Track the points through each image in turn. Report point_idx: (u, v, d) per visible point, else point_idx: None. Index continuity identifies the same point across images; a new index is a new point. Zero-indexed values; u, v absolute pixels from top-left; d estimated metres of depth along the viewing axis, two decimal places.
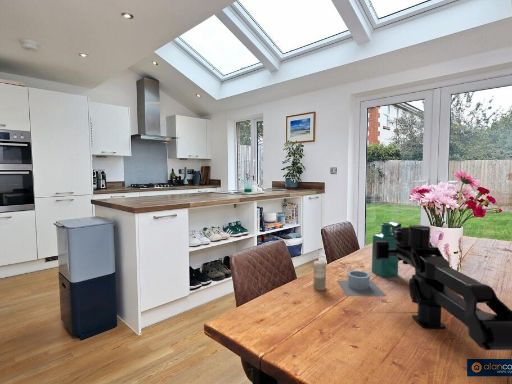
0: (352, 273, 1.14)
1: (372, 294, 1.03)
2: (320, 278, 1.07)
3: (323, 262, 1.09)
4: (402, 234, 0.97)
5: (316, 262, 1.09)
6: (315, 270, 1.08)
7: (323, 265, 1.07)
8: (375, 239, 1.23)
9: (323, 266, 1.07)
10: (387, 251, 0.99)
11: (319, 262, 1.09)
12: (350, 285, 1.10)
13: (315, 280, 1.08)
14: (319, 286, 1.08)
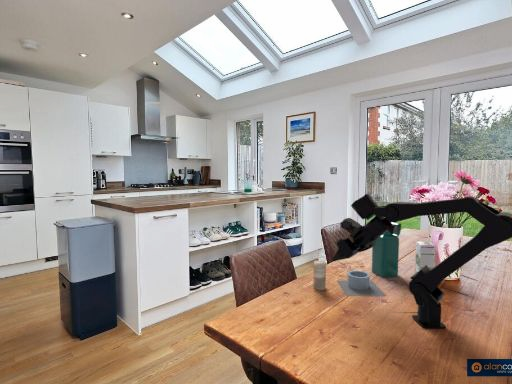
0: (352, 273, 1.14)
1: (372, 294, 1.03)
2: (320, 278, 1.07)
3: (323, 262, 1.09)
4: None
5: (316, 262, 1.09)
6: (315, 270, 1.08)
7: (323, 265, 1.07)
8: None
9: (323, 266, 1.07)
10: (352, 243, 0.94)
11: (319, 262, 1.09)
12: (350, 285, 1.10)
13: (315, 280, 1.08)
14: (319, 286, 1.08)
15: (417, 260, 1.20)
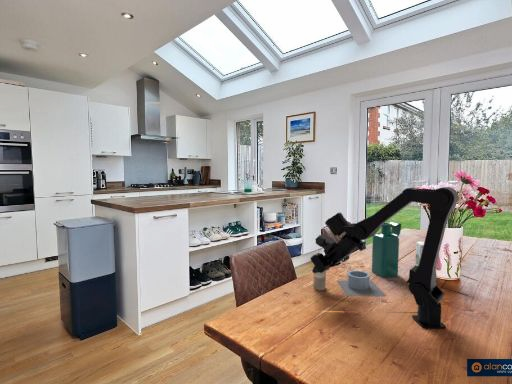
0: (352, 273, 1.14)
1: (372, 294, 1.03)
2: (320, 278, 1.07)
3: None
4: None
5: None
6: None
7: None
8: (375, 239, 1.23)
9: None
10: (325, 259, 1.01)
11: None
12: (350, 285, 1.10)
13: (315, 280, 1.08)
14: (318, 285, 1.08)
15: (417, 260, 1.20)
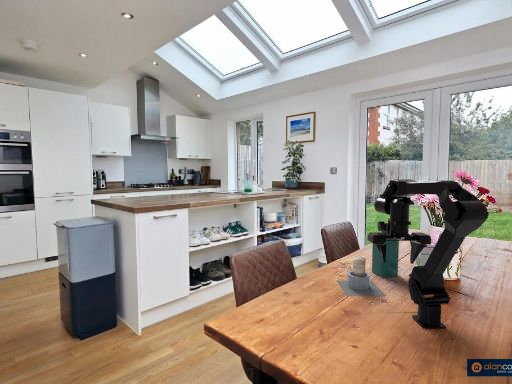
0: (352, 273, 1.14)
1: (372, 294, 1.03)
2: (358, 274, 1.09)
3: (363, 258, 1.10)
4: None
5: (356, 257, 1.11)
6: (353, 265, 1.10)
7: (361, 261, 1.08)
8: None
9: (361, 262, 1.08)
10: (380, 233, 0.98)
11: (358, 258, 1.10)
12: (350, 285, 1.10)
13: (353, 275, 1.11)
14: None
15: (417, 260, 1.20)
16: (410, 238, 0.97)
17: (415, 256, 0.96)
